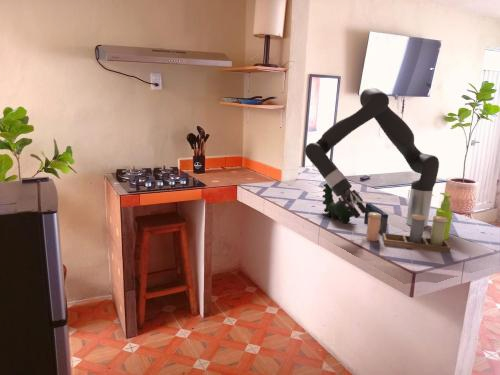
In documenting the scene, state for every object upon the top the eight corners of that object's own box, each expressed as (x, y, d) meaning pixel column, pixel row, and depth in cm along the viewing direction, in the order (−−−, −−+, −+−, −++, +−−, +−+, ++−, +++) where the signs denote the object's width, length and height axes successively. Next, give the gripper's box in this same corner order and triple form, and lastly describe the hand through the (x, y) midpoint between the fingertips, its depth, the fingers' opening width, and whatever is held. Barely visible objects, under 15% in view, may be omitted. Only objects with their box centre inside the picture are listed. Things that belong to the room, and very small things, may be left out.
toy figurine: (317, 215, 194) (344, 227, 170) (318, 178, 191) (346, 185, 168) (333, 214, 197) (362, 225, 173) (334, 177, 194) (364, 184, 171)
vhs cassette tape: (363, 223, 179) (365, 202, 177) (369, 223, 180) (372, 202, 177) (379, 237, 162) (381, 214, 159) (385, 237, 162) (388, 214, 160)
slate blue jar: (407, 241, 153) (411, 213, 150) (420, 243, 152) (424, 214, 149) (409, 246, 148) (413, 216, 146) (422, 247, 147) (426, 218, 144)
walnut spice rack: (381, 240, 157) (382, 232, 156) (444, 248, 152) (445, 240, 151) (383, 248, 149) (384, 239, 148) (449, 256, 144) (450, 247, 143)
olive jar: (427, 244, 151) (432, 215, 148) (440, 245, 150) (445, 216, 147) (430, 248, 147) (434, 219, 144) (443, 250, 145) (448, 220, 143)
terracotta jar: (365, 239, 158) (368, 211, 155) (377, 241, 157) (380, 213, 154) (365, 243, 153) (369, 215, 151) (378, 245, 152) (381, 216, 149)
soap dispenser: (441, 237, 164) (449, 192, 160) (450, 243, 158) (458, 196, 153) (428, 236, 164) (435, 191, 159) (436, 242, 157) (444, 195, 153)
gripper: (338, 180, 151) (363, 213, 148) (350, 174, 163) (374, 205, 159) (324, 190, 155) (348, 223, 152) (337, 185, 167) (360, 215, 163)
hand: (362, 214), depth 155 cm, fingers open, 8 cm apart
